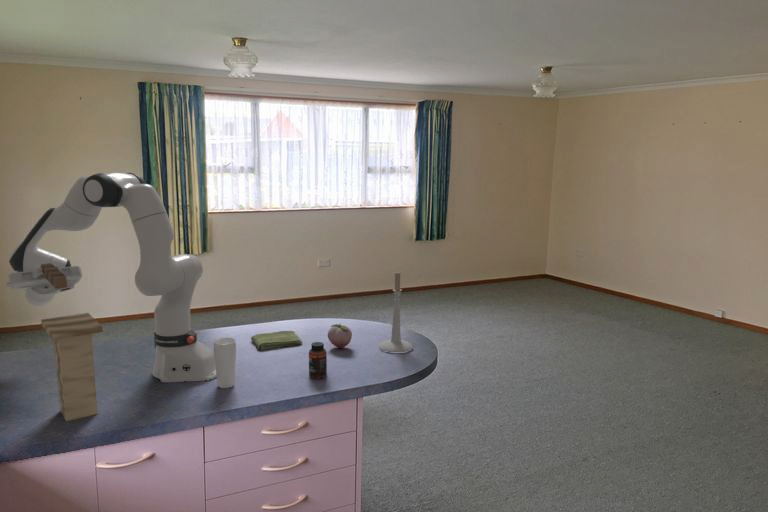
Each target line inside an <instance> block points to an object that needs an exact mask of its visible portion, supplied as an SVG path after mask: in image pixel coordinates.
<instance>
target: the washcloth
mask: <svg viewBox="0 0 768 512" xmlns="http://www.w3.org/2000/svg"><path fill="white" fill-rule="evenodd" d="M250 339H251V342H253V344H254V345H255V346H256V347H257V349H258V350H259V351H265V349H266V350H271V349H270V348H274V349H279V348H278V347H280V348H285V347H284V346H286V347H291V346H299V345H298V344H300V345H301V344H303V341H302V340H301V338H300V337H299V335H298V334H297V333H295V331H294V330H280V331H279V330H278V331H274V332H273V331H272V332H269V333H268V332H266V333H258V334H254V335H252V336H251V337H250ZM261 349H263V350H261Z"/></svg>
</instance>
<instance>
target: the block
mask: <svg viewBox="0 0 768 512" xmlns="http://www.w3.org/2000/svg"><path fill="white" fill-rule="evenodd" d="M41 268H43V274H42V275H43V276H44V277H45V278H46V279H47V280H48V281H49V282H50V283H51V284H52V285H53V286H54V288H55V289H56V288H64V287H67V278H66V276H65V275H64V274H63V273H62V272H60V271H59V270H58V269H57V268H56V267H55V266H54V265H53V264H52V263H49V264H41Z"/></svg>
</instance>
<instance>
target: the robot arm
mask: <svg viewBox="0 0 768 512" xmlns="http://www.w3.org/2000/svg"><path fill="white" fill-rule="evenodd" d="M118 207H123V208H124V209H125V210H126V211H127V214H128V215H129V218H130V221H131V224H132V226H133V230H134V232H135V235H136V239H137V241H138V245H139V250H140V253H139V254H140V258H139V259H140V261H139V266H138V268H137V270H136V272H135V275H134V283H135V286H136V289H137V290H138V291H139V293H141V294H142V295H144V296H147V297H158V296H161V297H160V300H159V301H158V303H157V304H156V306H155V308H154V312H153V315H154V330H155V331H154V332H153V345H154V348H155V356H154V364H153V368H152V373H151V374H152V376H153V377H154V378H156V379H159V380H160V382H161V383H181V382H184V381H187V382H205V380H207V381H211V380H213V379H215V378H217V377H216V376H217V375H216V367H215V360H214V350H212V349H211V348H210V347H208V346H206V345H205V344H204V343H202V342H200V341H199V340H198V339H197V336H198V335H199V331H198V330H197V331H194V330H193V329H192V328H191V305H192V299H193V296H194V291H195V288H196V287H197V286H196V285H197V283H198V282H199V279H201V277H202V276H203V272H204V271H203V269H204V268H203V265H202V262H201V260H200V259H199V257H197V256H196V255H194V254H188V253H186V254H184V253H183V254H182V253H180V254H175V255H172V253H171V245H172V242H173V241H174V239H175V232H174V228H173V226H172V223H171V220H170V218H169V215H168V213H167V210H166V207H165V205H164V202H163V200H162V199H161V197H160V195H159V193H158V192H157V190H156V188H155V187H154V186H153V185H152V184H148V183H146V181H145V179H144V178H143V177H142V176H141V175H138V174H136V173H133V172H117V171H112V172H104V173H103V172H99V173H95V174H92V175H89V174H87V175H82V176H80V177H79V178H78V179H77V180H76V181H75V182H74V183H73V186H71V188H70V190H69V191H68V193H67V194H66V196H65V198H64V200H63V202H62V203H61V204H60V205H59V206H57V207H50V208H49V209H47V210H46V211H45V212H44V213H43V214H42V216H41V217H40V218H39V219H38V221H37V222H36V223H35V225H34V226H33V227H32V228H31V230H30V231H29V232H28V234H27V235H26V237H25V238H24V240H23V241H22V242H21V243H19V245H18V246H16V247H15V249H14V250H13V251H12V252H11V254H10V256H9V261H8V263H9V265H10V266H11V268H12V270H13V271H14V272H11V273H9V274H8V282H6V288H10V289H11V290H14V291H15V290H16V291H17V290H24V289H25V290H24V291H25V293H24V295H25V300H26V301H27V302H28V304H30V305H32V306H35V307H44V306H46V305H48V304H49V303H50V302H52V300H53V299H54V297H55V295H56V294H59V293H62V292H65V291H69V290H73V289H75V285H77V284H78V283H79V282H80V281H81V279H82V278H83V271H82V267H81V266H80V265H74V266H72V264H71V262H70V259H68V258H66V257H63V256H61V255H59V254H56V253H54V252H51V251H49V250H48V251H47V250H45V249H43V248H41V247H39V246H38V245H37V244H39V242H40V241H41V239H42V238H43V237H44V235H46V233H47V232H49V231H67V232H68V231H69V232H80V231H85V230H88V229H90V228H91V227H92V226H93V225H94V223H95V221H96V220H97V218H98V217H99V215H100V213H101V211H102V209H103V208H118ZM49 263H52V264H53V265H54V266H55V267H56V268H57V269H58V270H59V271H60V272H62V273H63V274H64V275H65V276H66V278H67V287H64V288H56V289H55V288H54V286H53V285H52V284H51V283H50V282H49V281H48V280H47V279H46V278H45V277H44V276H43V275H42V274H43V268H41V264H49ZM210 379H211V380H210Z"/></svg>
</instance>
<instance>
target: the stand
mask: <svg viewBox="0 0 768 512" xmlns="http://www.w3.org/2000/svg"><path fill="white" fill-rule="evenodd" d="M40 321H41V322H40V323H41V326H42V328H43V329H44V330H45V332H46V333H47V335H48V336H49V337H50V339H51V340H52V341H53V347H54V357H55V358H54V359H55V367H56V369H55V370H56V379H57V390H58V399H59V400H58V402H59V410H60V412H61V415H62V416H63V418H64V420H65V422H66V423H67V422H71V421H74V420H79V419H82V418H87V417H91V416H94V415H98V413H99V412H98V399H97V388H96V387H97V386H96V377H95V376H96V375H95V364H94V363H95V362H94V349H93V348H94V347H93V339H92V336H93V334H99V333H103V331H104V330H103V326H102V325H101V324H100V323H99V322H98V321H97V320H96V319H95V318H94V317H93V316H92V315H91V314H90V312H83V313H77V314H69V315H63V316H57V317H50V318H44V319H40Z"/></svg>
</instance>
